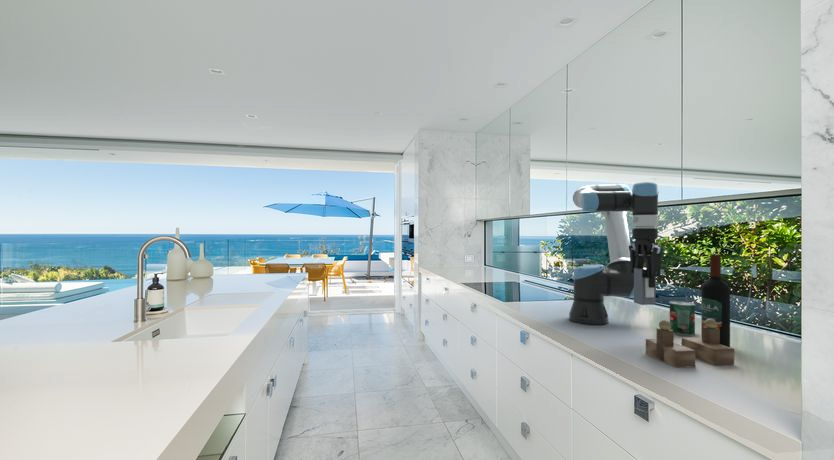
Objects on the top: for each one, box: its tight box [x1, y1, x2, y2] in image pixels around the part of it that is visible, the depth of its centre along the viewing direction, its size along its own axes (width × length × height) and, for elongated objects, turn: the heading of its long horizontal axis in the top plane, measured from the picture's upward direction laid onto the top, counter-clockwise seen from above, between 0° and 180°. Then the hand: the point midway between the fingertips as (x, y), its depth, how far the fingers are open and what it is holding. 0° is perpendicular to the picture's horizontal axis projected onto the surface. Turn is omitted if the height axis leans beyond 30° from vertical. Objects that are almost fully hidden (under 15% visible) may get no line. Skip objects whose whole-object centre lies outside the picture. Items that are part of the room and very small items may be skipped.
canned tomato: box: [669, 300, 696, 336], centre depth 144 cm, size 8×8×11 cm
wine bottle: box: [700, 254, 731, 348], centre depth 128 cm, size 8×8×30 cm
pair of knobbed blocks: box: [645, 319, 735, 368], centre depth 115 cm, size 12×18×12 cm, turn 97°
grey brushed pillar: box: [633, 267, 657, 306], centre depth 133 cm, size 4×5×12 cm
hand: (644, 295), depth 133 cm, fingers closed on grey brushed pillar, 4 cm apart
